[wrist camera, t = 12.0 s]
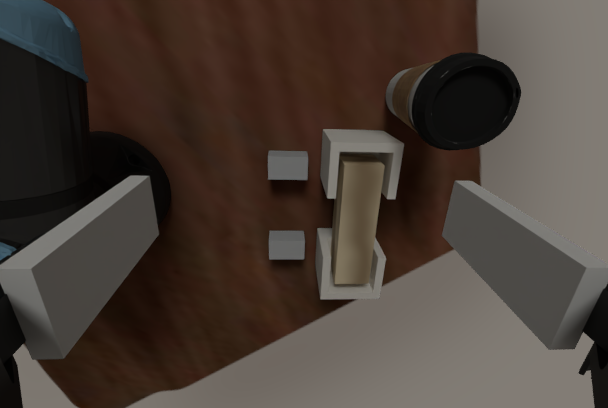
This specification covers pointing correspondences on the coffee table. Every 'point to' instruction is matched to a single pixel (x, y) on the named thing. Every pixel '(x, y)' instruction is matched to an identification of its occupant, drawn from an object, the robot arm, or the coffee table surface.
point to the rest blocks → (287, 168)
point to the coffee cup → (456, 100)
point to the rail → (355, 217)
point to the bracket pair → (332, 146)
